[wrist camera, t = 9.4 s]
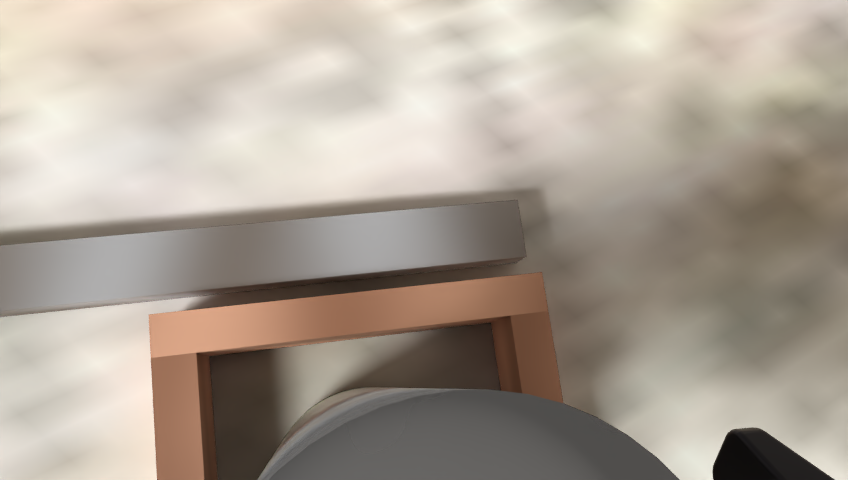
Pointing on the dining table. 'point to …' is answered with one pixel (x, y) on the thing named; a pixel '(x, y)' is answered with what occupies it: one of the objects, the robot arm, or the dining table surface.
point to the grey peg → (455, 439)
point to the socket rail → (295, 318)
